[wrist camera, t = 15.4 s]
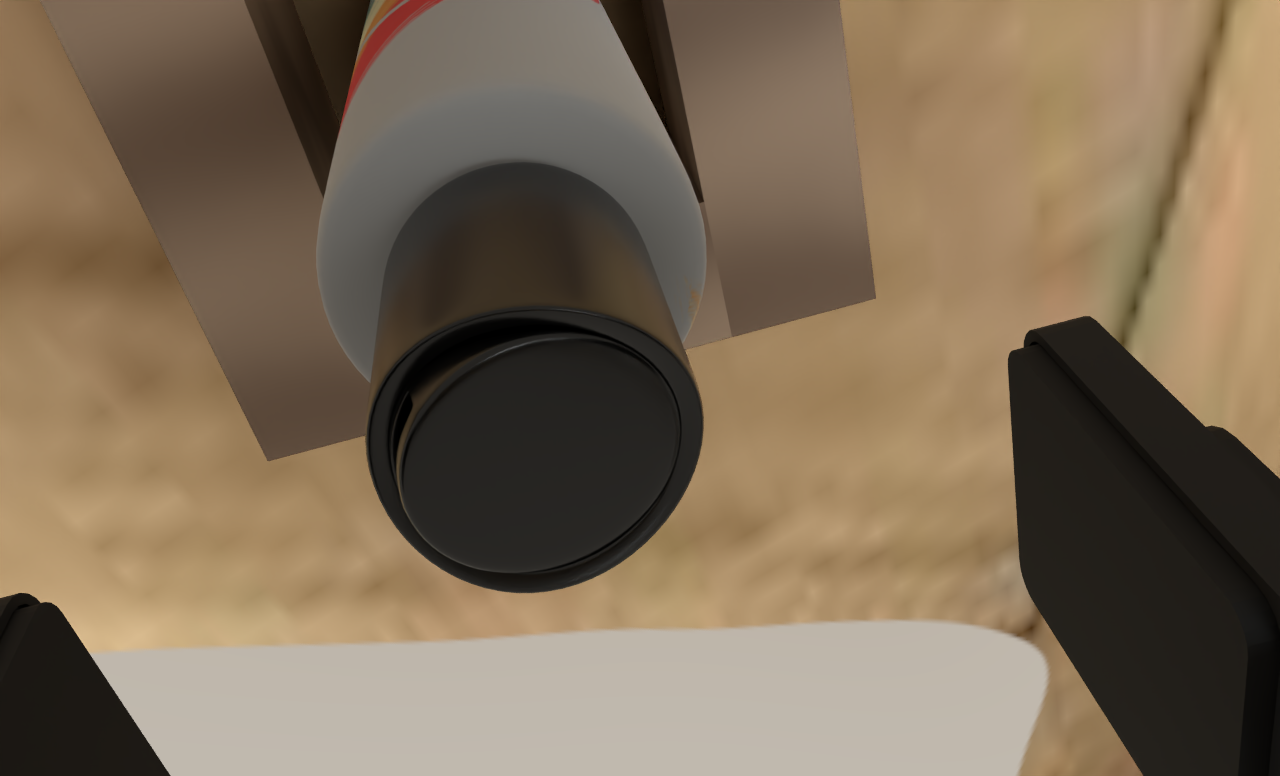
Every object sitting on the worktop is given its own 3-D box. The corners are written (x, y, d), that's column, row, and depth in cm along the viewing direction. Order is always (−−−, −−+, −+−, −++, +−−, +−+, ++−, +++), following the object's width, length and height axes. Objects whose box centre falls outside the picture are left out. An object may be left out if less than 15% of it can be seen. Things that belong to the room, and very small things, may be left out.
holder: (821, 221, 33) (875, 298, 29) (290, 363, 33) (267, 461, 29) (725, -438, 25) (781, -465, 21) (10, -250, 25) (-79, -238, 21)
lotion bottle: (382, -119, 27) (281, 190, 10) (615, -72, 28) (868, 272, 12) (360, 113, 30) (253, 660, 13) (574, 146, 31) (730, 683, 14)
